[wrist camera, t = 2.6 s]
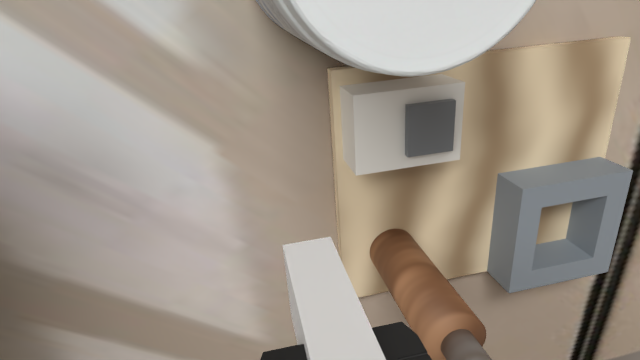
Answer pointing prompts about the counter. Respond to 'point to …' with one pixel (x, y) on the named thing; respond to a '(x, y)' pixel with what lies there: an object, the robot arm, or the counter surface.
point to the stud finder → (401, 122)
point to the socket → (583, 229)
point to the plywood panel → (480, 153)
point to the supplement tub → (399, 30)
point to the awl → (427, 299)
